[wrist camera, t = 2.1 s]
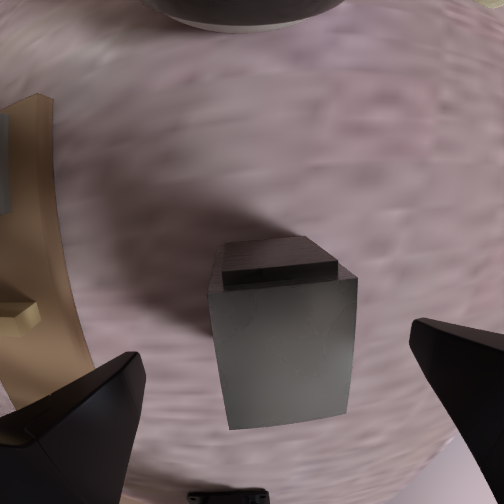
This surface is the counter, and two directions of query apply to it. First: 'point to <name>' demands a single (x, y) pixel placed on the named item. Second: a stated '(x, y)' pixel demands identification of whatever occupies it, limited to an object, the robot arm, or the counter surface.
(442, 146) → the counter surface
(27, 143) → the rail
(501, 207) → the counter surface
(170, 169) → the counter surface
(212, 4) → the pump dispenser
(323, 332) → the block
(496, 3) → the reusable coffee cup
